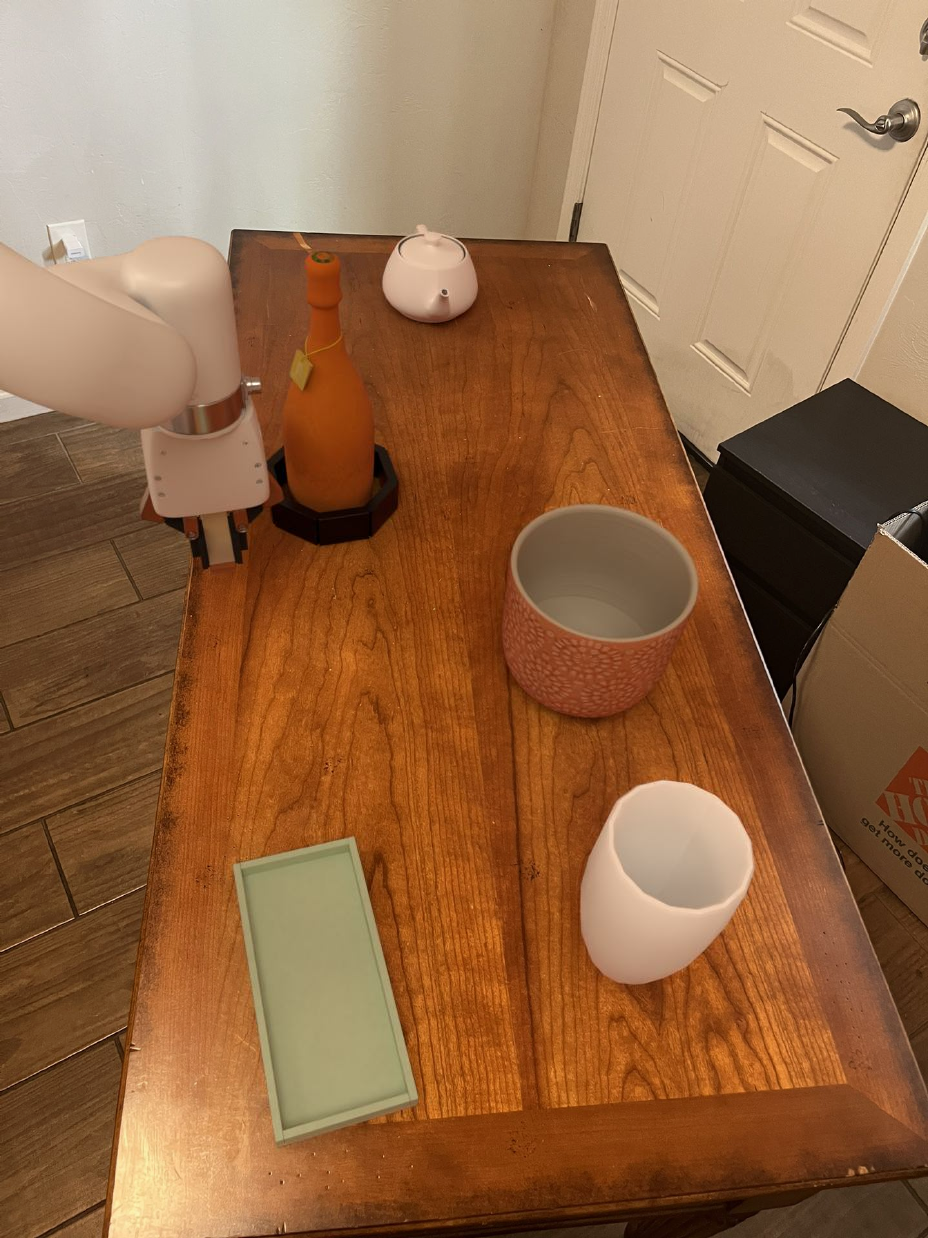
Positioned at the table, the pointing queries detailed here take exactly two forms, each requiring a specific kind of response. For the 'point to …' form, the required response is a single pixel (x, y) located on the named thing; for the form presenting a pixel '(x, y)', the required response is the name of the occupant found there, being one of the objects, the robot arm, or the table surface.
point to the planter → (595, 607)
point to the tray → (321, 992)
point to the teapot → (430, 277)
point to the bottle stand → (337, 522)
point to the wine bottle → (327, 406)
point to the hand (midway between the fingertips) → (220, 555)
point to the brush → (218, 543)
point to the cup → (662, 880)
